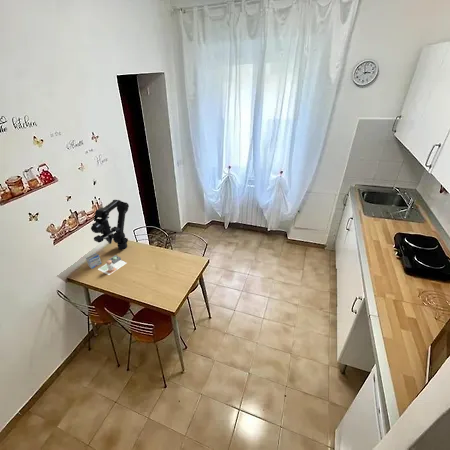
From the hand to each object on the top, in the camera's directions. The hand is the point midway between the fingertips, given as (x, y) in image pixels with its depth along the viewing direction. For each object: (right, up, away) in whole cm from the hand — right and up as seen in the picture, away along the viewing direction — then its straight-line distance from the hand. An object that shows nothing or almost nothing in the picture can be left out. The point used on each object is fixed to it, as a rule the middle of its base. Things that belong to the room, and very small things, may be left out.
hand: (110, 243), depth 190 cm
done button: (+3, -13, +2) cm, 13 cm away
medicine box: (-10, -16, -1) cm, 19 cm away
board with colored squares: (+3, -17, -3) cm, 17 cm away
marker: (+5, -19, -8) cm, 21 cm away
